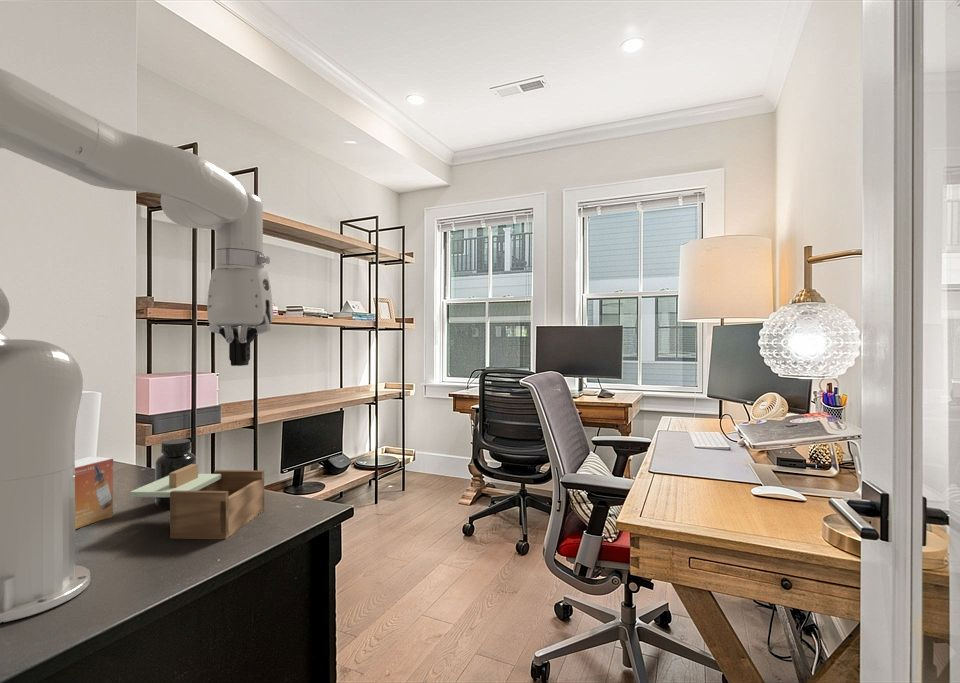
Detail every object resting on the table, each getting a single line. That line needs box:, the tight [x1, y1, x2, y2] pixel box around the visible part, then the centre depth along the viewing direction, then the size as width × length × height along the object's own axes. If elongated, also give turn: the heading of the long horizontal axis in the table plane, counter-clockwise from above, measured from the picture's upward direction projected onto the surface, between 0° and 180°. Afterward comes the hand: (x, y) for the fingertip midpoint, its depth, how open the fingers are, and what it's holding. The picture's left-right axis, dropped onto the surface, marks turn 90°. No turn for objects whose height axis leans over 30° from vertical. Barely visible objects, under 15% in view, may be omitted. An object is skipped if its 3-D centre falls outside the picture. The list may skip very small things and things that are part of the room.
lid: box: [129, 463, 222, 498], centre depth 84 cm, size 11×9×3 cm
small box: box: [75, 456, 114, 530], centre depth 84 cm, size 8×6×10 cm
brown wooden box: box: [169, 469, 265, 540], centre depth 84 cm, size 13×9×7 cm
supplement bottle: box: [154, 438, 198, 509], centre depth 94 cm, size 7×7×12 cm
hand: (239, 365), depth 87 cm, fingers closed
